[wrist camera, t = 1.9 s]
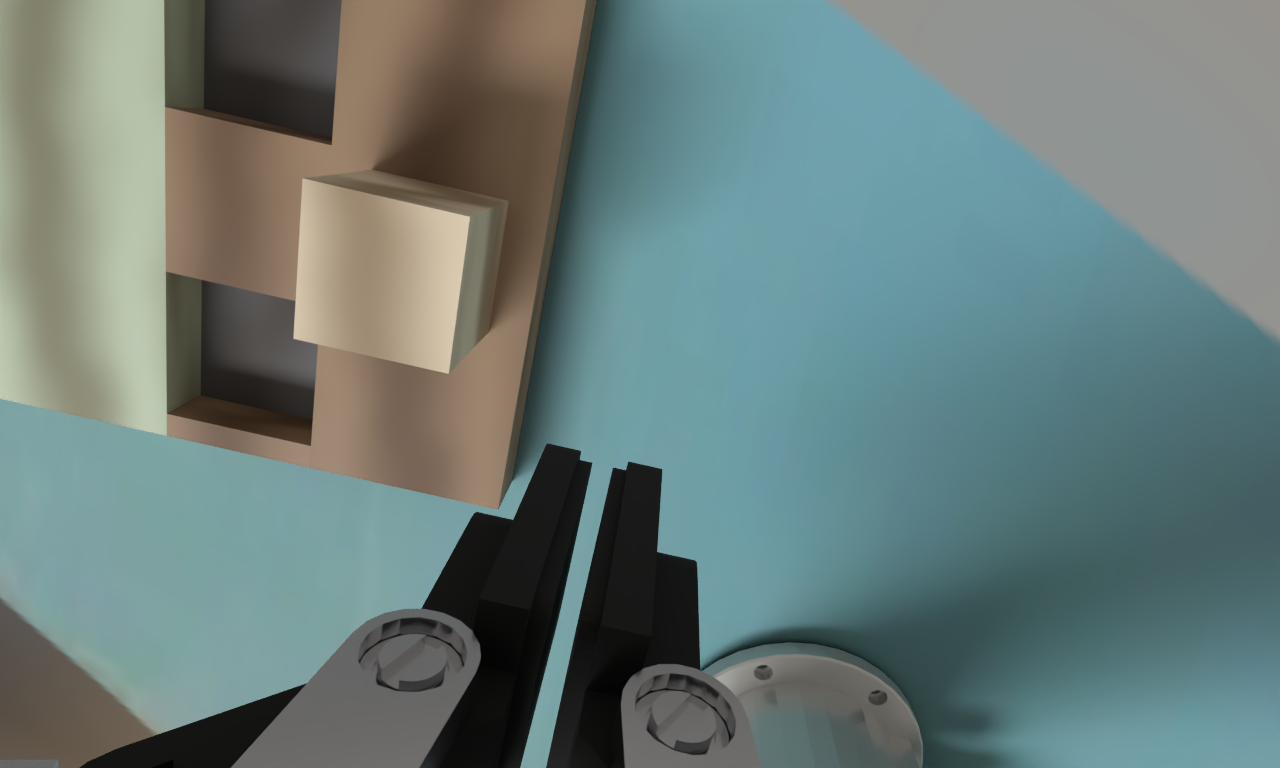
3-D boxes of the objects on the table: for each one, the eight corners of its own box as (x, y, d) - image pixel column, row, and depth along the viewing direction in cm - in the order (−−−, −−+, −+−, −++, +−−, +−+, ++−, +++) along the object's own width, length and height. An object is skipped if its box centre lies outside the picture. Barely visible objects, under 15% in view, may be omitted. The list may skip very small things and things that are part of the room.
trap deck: (598, -8, 26) (589, -21, 23) (511, 482, 33) (498, 509, 30) (-13, -152, 25) (-85, -180, 23) (26, 373, 32) (-26, 392, 30)
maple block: (508, 200, 26) (470, 216, 21) (488, 332, 28) (449, 373, 23) (371, 169, 26) (302, 178, 21) (360, 303, 28) (293, 338, 23)
